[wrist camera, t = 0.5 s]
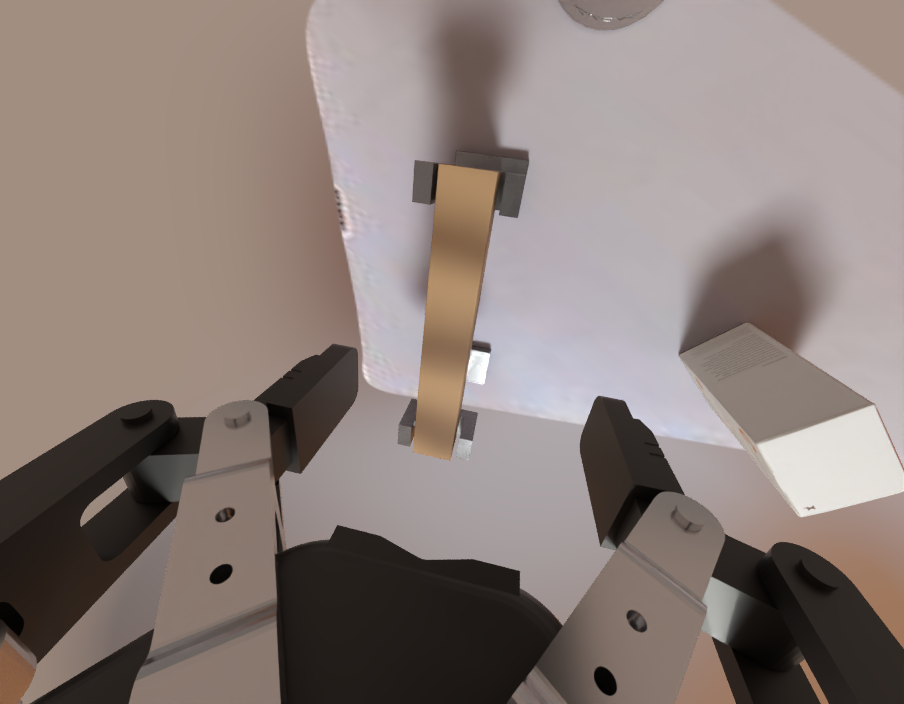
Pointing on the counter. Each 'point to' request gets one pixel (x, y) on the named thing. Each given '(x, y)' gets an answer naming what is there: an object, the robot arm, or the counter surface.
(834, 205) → the counter surface
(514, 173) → the grey support rack
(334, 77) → the counter surface
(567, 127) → the counter surface
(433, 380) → the tan wooden bar
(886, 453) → the small box
